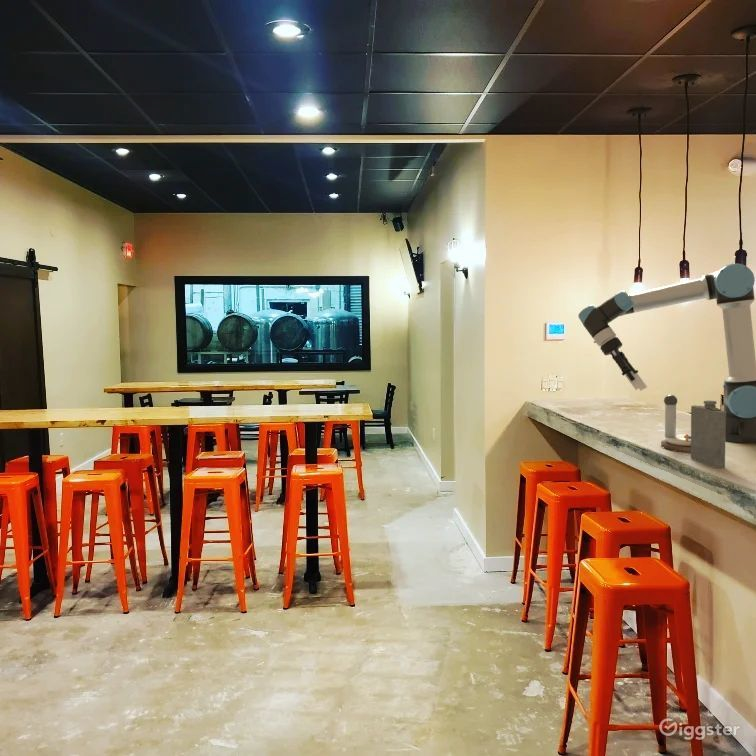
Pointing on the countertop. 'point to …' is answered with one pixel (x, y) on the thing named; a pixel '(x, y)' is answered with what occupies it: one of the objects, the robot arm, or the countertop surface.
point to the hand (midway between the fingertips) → (641, 388)
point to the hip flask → (708, 434)
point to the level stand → (675, 447)
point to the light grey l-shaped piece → (673, 424)
